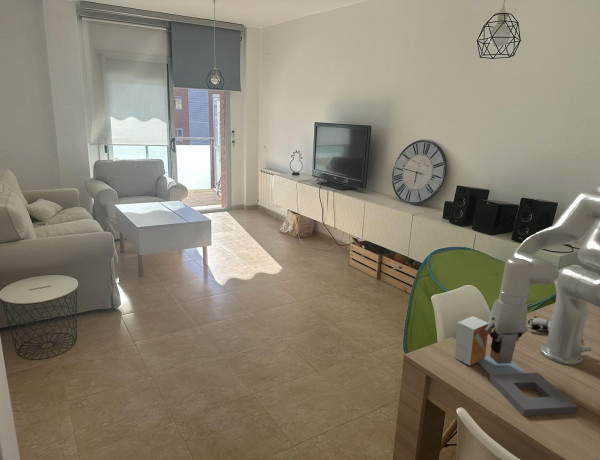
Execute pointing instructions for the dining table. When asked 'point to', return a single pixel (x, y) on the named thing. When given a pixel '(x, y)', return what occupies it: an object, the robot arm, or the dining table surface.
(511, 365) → the blue pad
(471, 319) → the small box
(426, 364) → the dining table surface
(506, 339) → the steel plug
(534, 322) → the robot toy
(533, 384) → the socket block
